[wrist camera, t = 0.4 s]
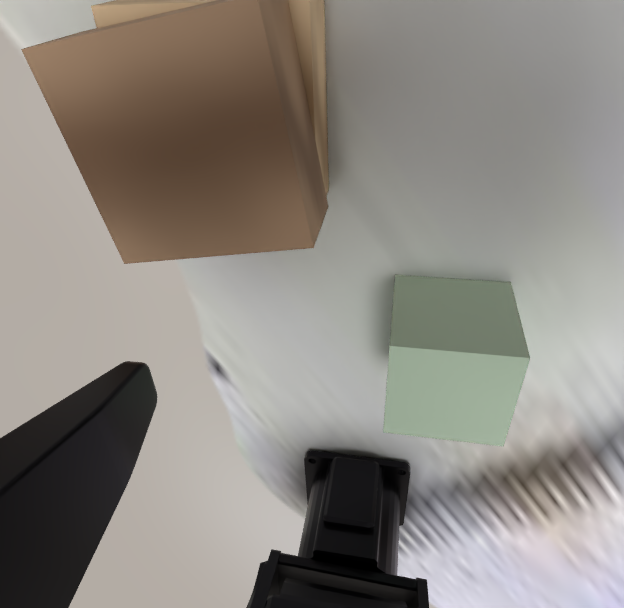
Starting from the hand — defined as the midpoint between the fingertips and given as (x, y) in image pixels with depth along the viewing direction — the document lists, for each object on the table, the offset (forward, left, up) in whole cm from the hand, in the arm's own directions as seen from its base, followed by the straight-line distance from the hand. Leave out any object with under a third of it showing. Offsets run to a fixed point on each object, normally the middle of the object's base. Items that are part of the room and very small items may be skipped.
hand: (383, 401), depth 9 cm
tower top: (+2, +7, -10) cm, 12 cm away
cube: (-8, -3, -13) cm, 16 cm away
